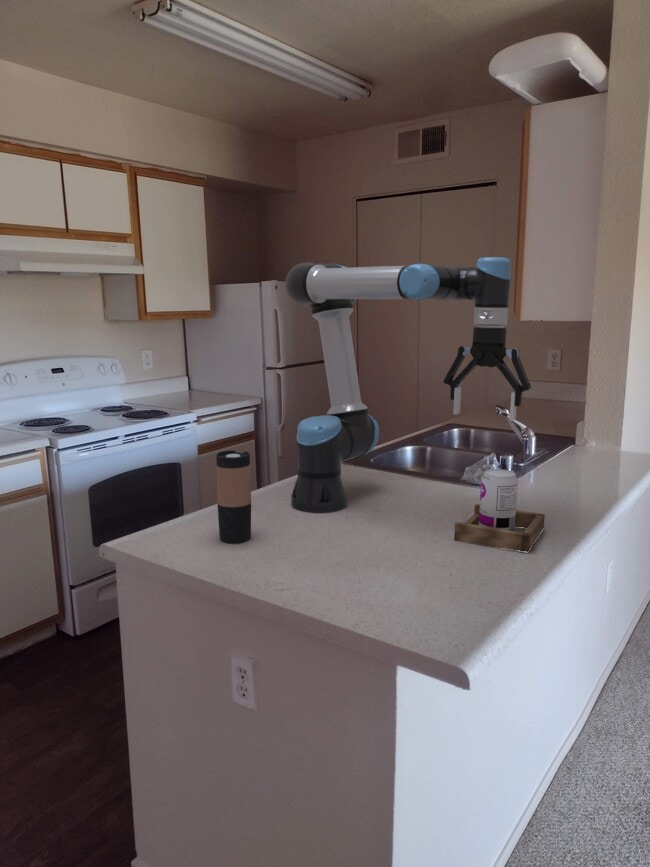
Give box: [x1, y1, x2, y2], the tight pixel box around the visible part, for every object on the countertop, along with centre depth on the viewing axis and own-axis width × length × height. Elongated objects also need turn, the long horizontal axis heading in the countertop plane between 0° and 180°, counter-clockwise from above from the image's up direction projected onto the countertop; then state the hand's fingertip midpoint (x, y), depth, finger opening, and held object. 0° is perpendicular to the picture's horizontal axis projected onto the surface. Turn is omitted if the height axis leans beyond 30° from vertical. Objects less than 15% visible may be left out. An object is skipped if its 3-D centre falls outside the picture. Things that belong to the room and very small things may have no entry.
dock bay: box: [453, 503, 546, 552], centre depth 151 cm, size 16×17×4 cm
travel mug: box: [215, 449, 252, 545], centre depth 147 cm, size 8×8×20 cm
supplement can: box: [478, 468, 519, 532], centre depth 150 cm, size 8×8×15 cm
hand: (483, 416), depth 154 cm, fingers open, 13 cm apart
